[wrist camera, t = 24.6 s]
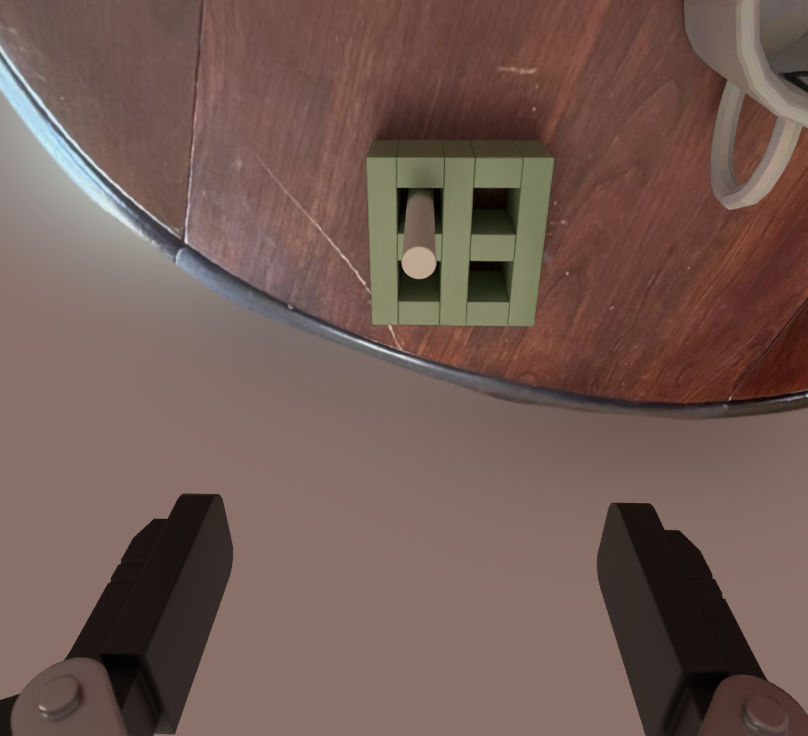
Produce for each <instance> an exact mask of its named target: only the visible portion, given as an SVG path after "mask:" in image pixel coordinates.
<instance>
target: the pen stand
mask: <svg viewBox="0 0 808 736" xmlns="http://www.w3.org/2000/svg"><path fill="white" fill-rule="evenodd" d="M554 159H555V158H554V157H553V155H552V154H551V153H550V152H549V151H548V150H547V149H546V148H545V147H544V146H543V144H542V143H541V142H540V141H539V140H512V141H511V140H470V141H469V140H373V142H372V145H371V147H370V150H369V152H368V155H367V157H366V170H367V198H368V226H369V254H370V282H371V311H372V324H373V325H398V324H399V325H439V324H440V325H463V326H465V325H466V326H507V325H508V326H534V322H535V314H536V306H537V298H538V290H539V282H540V273H541V265H542V257H543V249H544V241H545V233H546V224H547V216H548V208H549V200H550V192H551V184H552V175H553V167H554ZM400 188H441V201H440V209H434V219H435V240H436V261H439V272H438V271H434V272H433V273H432V274H431V275H430V276H428V277H426V278H423V279H415V278H412V277H410V276H408V275H407V274H406V273H405V271H404V270H402V271H401V261H402V252H403V242H404V231H405V220H406V210H407V209H400ZM474 188H508V191H507V202H506V210H505V209H472V208H473V190H474ZM470 261H501V272H500V271H469V262H470Z"/></svg>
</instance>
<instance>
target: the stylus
mask: <svg viewBox="0 0 808 736" xmlns="http://www.w3.org/2000/svg"><path fill="white" fill-rule="evenodd" d="M436 263H437V262H436V240H435V219H434V198H433V188H409V189H408V199H407V210H406V220H405V231H404V242H403V252H402V268H403V270H404V271H405V273H406V274H407V275H408V276H410V277H412V278H415V279H423V278H426V277H428V276H430V275H431V274H432V273H433V272H434V270H435V268H436Z"/></svg>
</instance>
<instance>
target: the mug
mask: <svg viewBox="0 0 808 736" xmlns="http://www.w3.org/2000/svg"><path fill="white" fill-rule="evenodd" d="M684 18H685V31H686V33H687V35H688V38H689V40H690V43H691V45H692V48H693V50H694V52H695V53H696V54H697V55H698V56H699V57H700V58H701V59H702V60H703V61H704V62H705V63H706V64H707V65H708V66H709V67H711V68H712V69H713V70H715V71H716V72H717V73H719V74H720V75H722V76H723V77H724V78H726V79H727V82H726V86H725V89H724V92H723V95H722V98H721V101H720V105H719V109H718V113H717V118H716V122H715V127H714V132H713V139H712V145H711V157H710V181H711V185H712V188H713V191H714V195H715V197H716V198H717V199H718V200H719V201H720V202H721V204H722V205H723V206H724V207H726V208H727V209H728V210H732V209H737V208H741V207H745V206H749V205H753V204H756V203H758V202H759V201H760V200H761V199H762V198H763V197H764V196H765V195H766V194H767V193H769V192H770V191H771V189H772V188H773V186H774V185H775V183H776V182H777V180H778V179H779V177H780V176H781V174H782V173H783V171H784V169H785V168H786V166H787V164H788V162H789V160H790V158H791V156H792V153H793V151H794V149H795V146H796V144H797V141H798V138H799V135H800V132H801V129H802V126H804V127H807V128H808V0H685V1H684ZM745 93H746V94H747V95H749V96H750V97H752V98H753V99H754V100H756V101H757V102H758V103H760V104H761V105H762V106H764V107H765V108H767V109H768V110H769V111H771V112H772V113H773V114H775V115H777V118H776V121H775V125H774V128H773V131H772V134H771V137H770V141H769V143H768V146H767V148H766V151H765V153H764V155H763V157H762V159H761V161H760V163H759V165H758V166H757V168H756V169H755V171H754V172H753V174H752V175H751V177H750V178H749V179H748V180H747V181H746V182H745V183H744V184H743V185H742V186H738V184H737V181H736V178H735V175H734V164H733V154H734V142H735V136H736V129H737V124H738V119H739V115H740V111H741V107H742V103H743V100H744V96H745Z"/></svg>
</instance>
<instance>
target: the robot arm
mask: <svg viewBox="0 0 808 736" xmlns="http://www.w3.org/2000/svg"><path fill="white" fill-rule="evenodd" d="M232 562H233V545H232V540H231V535H230V531H229V526H228V522H227V517H226V513H225V508H224V504H223V500H222V497H221V496H220V495H219V494H182V495H180V497H179V498H178V500H177V501H176V503H175V506H174V508H173V509H172V511H171V513H170V515H169V517H168V519H153V520H152V521H151V522H150V523H149V524H148V525H147V526H146V527H145V528H144V529H142V530H141V531H140V532H139V533H138V534H137V535H136V536H135V537H134V538H133V540H132V541H131V543H130V545H129V547H128V549H127V550H126V552H125V554H124V556H123V558H122V559H121V564H120V565H118V566H117V568H116V570H115V572H114V574H113V575H112V577H111V582H110V583H108V585H107V586H106V588H105V590H104V592H103V593H102V595H101V597H100V599H99V600H98V602H97V604H96V606H95V608H94V610H93V611H92V613H91V615H90V617H89V618H88V620H87V622H86V624H85V626H84V627H83V629H82V631H81V633H80V635H79V636H78V638H77V640H76V642H75V644H74V645H73V647H72V649H71V651H70V652H69V654H68V655H67V657H66V658H65V660H64V661H61V662H59V663H56V664H54V665H52V666H50V667H49V668H47V669H45V670H44V671H43V672H41V673H40V674H38V675H37V676H36V677H35V678H34V679H32V680H31V681H30V682H29V684H28V685H27V686H26V687H25V688H24V689H23V691H22V692H21V693H20V694H18V695H15V696H12V697H9V698H5V699H2V700H0V736H153V735H154V734H175V732H176V729H177V726H178V723H179V720H180V717H181V715H182V712H183V709H184V706H185V703H186V700H187V697H188V694H189V692H190V689H191V686H192V683H193V680H194V677H195V674H196V672H197V669H198V666H199V663H200V660H201V657H202V654H203V652H204V649H205V646H206V643H207V640H208V637H209V634H210V631H211V628H212V625H213V623H214V620H215V617H216V614H217V611H218V608H219V606H220V602H221V600H222V597H223V594H224V591H225V588H226V585H227V582H228V580H229V577H230V573H231V568H232ZM597 573H598V580H599V584H600V588H601V591H602V594H603V598H604V601H605V605H606V608H607V611H608V614H609V618H610V621H611V624H612V627H613V631H614V634H615V637H616V640H617V644H618V647H619V650H620V654H621V657H622V660H623V663H624V667H625V670H626V673H627V676H628V679H629V683H630V686H631V689H632V693H633V696H634V699H635V702H636V706H637V709H638V712H639V715H640V719H641V722H642V725H643V729H644V732H645V735H646V736H808V715H807V714H806V712H805V711H804V709H803V708H802V707H801V706H800V705H799V703H798V702H797V701H796V700H795V699H793V698H792V697H791V696H790V695H789V694H788V693H787V692H785V691H784V690H782V689H781V688H779V687H778V686H776V685H775V684H773V683H771V682H769V681H768V680H767V679H766V677H765V675H764V674H763V672H762V670H761V668H760V666H759V664H758V662H757V660H756V658H755V657H754V654H753V652H752V651H751V649H750V647H749V645H748V643H747V641H746V639H745V637H744V635H743V633H742V631H741V629H740V627H739V625H738V623H737V621H736V619H735V617H734V616H733V614H732V612H731V610H730V608H729V606H728V604H727V602H726V600H725V599H723V597H722V592H721V590H720V588H719V586H718V585H717V583H716V581H715V579H713V578H712V573H711V571H710V569H709V567H708V565H707V564H706V561H705V559H704V557H703V555H702V553H701V551H700V550H699V549H698V548H697V547H696V546H695V545H694V544H693V543H692V542H691V541H690V540H688V538H687V537H686V536H685V535H683V534H682V533H681V532H680V531H679V530H664V528H663V526H662V523H661V521H660V519H659V517H658V515H657V513H656V511H655V509H654V507H653V506H652V505H651V504H649V503H611V505H610V506H609V509H608V513H607V517H606V521H605V525H604V530H603V534H602V538H601V542H600V546H599V550H598V555H597Z"/></svg>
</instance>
